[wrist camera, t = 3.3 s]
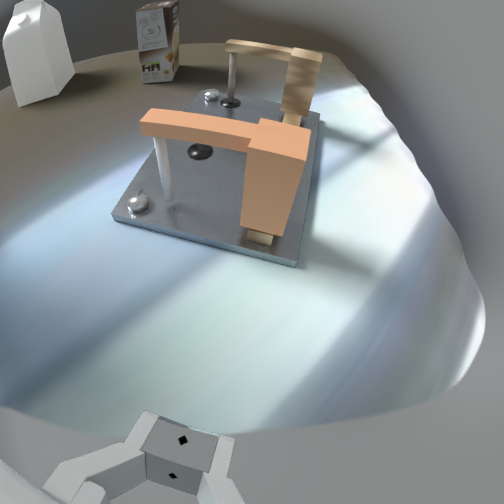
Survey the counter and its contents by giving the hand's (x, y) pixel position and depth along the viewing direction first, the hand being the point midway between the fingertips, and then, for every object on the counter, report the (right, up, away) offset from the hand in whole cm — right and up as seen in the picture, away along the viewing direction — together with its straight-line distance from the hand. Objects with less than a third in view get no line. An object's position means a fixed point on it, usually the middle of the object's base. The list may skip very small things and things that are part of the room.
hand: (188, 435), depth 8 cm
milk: (-47, +45, +39) cm, 75 cm away
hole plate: (0, +18, +28) cm, 34 cm away
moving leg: (-1, +10, +21) cm, 23 cm away
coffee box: (-16, +42, +41) cm, 61 cm away
